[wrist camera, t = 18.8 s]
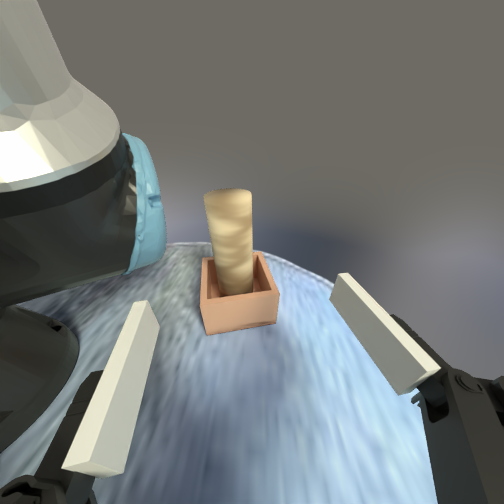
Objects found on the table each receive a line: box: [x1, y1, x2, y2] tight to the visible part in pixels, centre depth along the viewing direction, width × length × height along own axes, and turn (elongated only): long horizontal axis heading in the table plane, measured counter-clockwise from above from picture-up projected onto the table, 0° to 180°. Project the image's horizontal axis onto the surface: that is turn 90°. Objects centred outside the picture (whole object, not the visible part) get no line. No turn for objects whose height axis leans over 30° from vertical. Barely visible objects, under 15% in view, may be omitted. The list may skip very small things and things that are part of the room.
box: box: [200, 252, 280, 336], centre depth 27 cm, size 10×10×6 cm
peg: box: [204, 188, 253, 297], centre depth 23 cm, size 5×5×16 cm
